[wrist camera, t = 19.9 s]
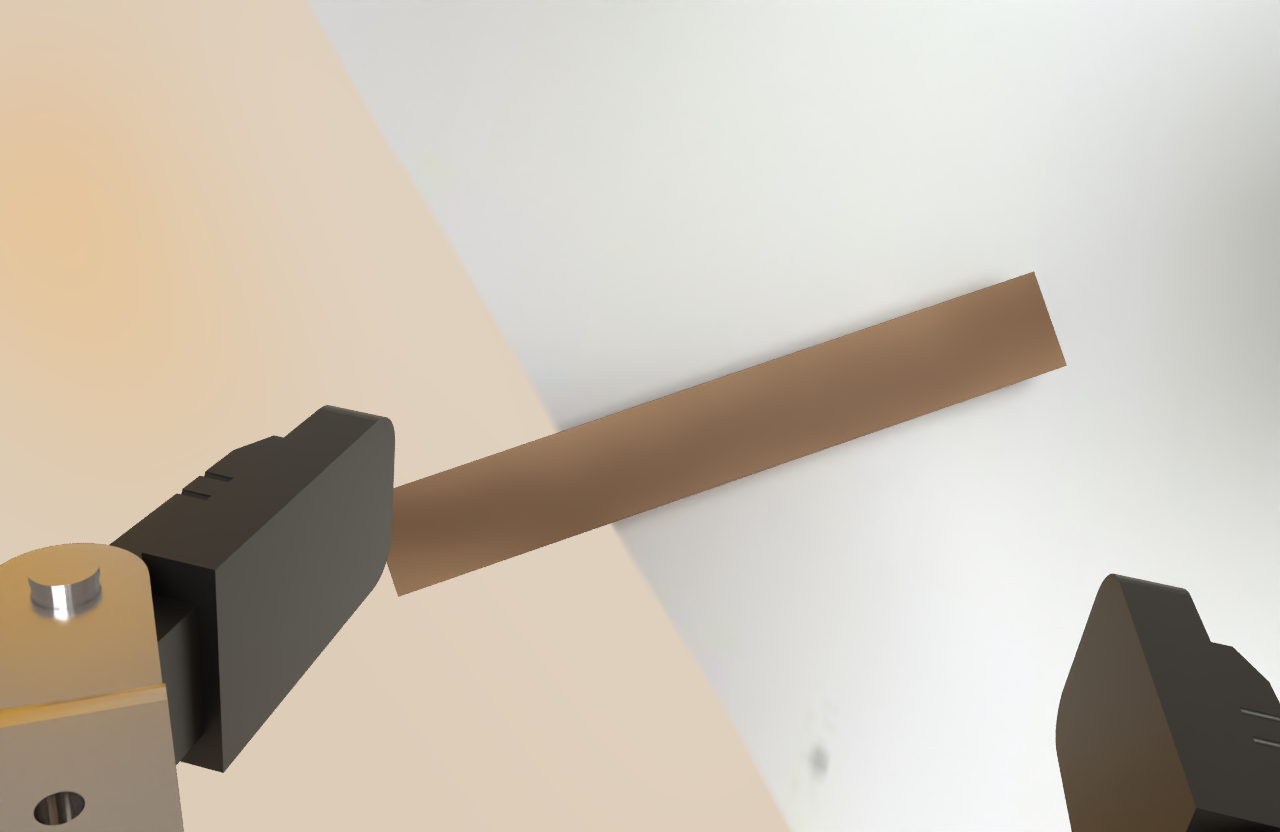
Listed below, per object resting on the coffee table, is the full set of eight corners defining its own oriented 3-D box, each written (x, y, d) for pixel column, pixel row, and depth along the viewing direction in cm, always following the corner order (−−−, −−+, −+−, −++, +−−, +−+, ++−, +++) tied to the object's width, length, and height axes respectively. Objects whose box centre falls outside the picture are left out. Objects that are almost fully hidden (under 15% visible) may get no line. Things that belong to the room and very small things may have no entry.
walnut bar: (382, 494, 35) (365, 498, 32) (996, 287, 37) (1033, 271, 34) (413, 585, 35) (398, 596, 32) (1026, 373, 37) (1066, 365, 34)
